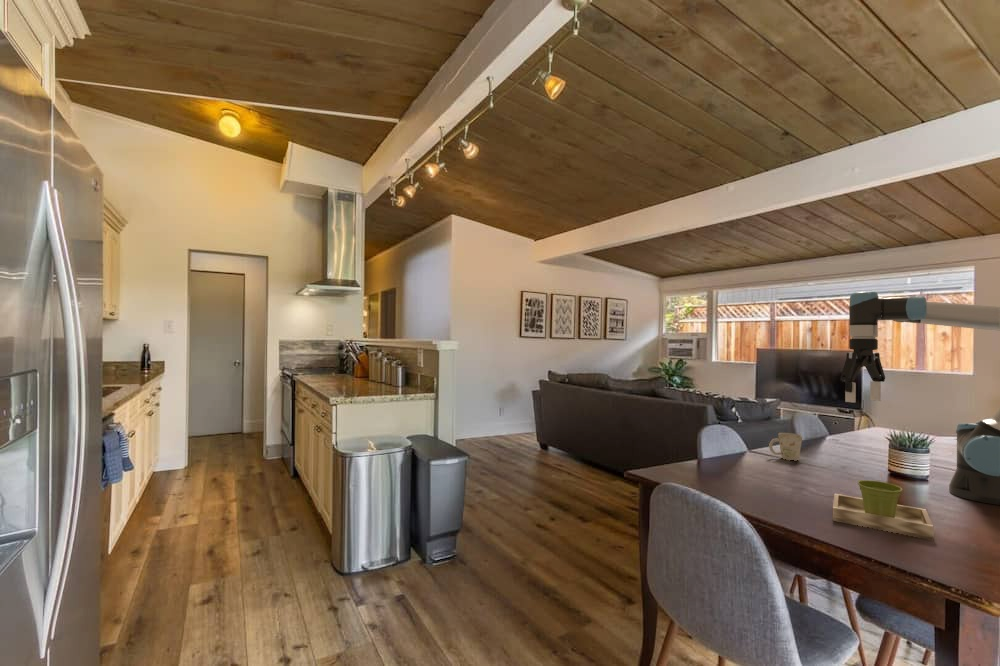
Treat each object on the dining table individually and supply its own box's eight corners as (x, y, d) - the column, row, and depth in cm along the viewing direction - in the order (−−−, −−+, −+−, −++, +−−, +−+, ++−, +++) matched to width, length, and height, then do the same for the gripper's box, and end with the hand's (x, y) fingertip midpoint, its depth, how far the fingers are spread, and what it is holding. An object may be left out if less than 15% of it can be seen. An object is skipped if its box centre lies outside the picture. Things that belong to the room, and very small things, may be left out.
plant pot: (890, 526, 119) (890, 492, 120) (849, 513, 128) (850, 482, 128) (909, 521, 123) (910, 488, 123) (869, 509, 132) (869, 478, 132)
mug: (806, 461, 188) (806, 437, 188) (775, 461, 188) (775, 436, 188) (794, 456, 196) (794, 433, 196) (764, 456, 196) (764, 432, 197)
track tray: (925, 522, 125) (925, 509, 125) (933, 541, 113) (933, 526, 113) (834, 505, 137) (834, 493, 138) (832, 520, 126) (832, 507, 126)
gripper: (873, 338, 165) (873, 398, 164) (827, 337, 155) (827, 401, 155) (898, 338, 158) (898, 401, 157) (852, 337, 148) (852, 404, 148)
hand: (863, 401), depth 156 cm, fingers open, 13 cm apart
